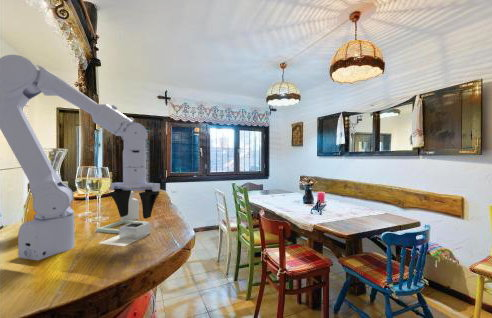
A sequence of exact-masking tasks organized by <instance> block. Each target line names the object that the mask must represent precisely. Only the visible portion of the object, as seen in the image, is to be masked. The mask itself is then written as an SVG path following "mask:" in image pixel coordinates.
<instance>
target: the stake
mask: <svg viewBox="0 0 492 318" xmlns="http://www.w3.org/2000/svg"><path fill="white" fill-rule="evenodd" d="M139 225H140V223H131V227H138V226H139Z"/></svg>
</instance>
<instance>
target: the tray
mask: <svg viewBox="0 0 492 318" xmlns="http://www.w3.org/2000/svg"><path fill="white" fill-rule="evenodd" d="M132 222H145V223H150V222H149V221H143V220H142V221H140V220H121V219H120V220H118V221H116V222H113V223H109V224H107V225H104V226H100V227H97V228H96V232H98V233H106V234H107V233H109V234H117V235H119V229H118V228H114V227H116V226H120V225H123V224H124V225H126V224H129V223H132Z"/></svg>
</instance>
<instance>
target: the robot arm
mask: <svg viewBox="0 0 492 318" xmlns="http://www.w3.org/2000/svg"><path fill="white" fill-rule="evenodd" d="M36 66H37V67H36ZM37 68H38V69H37ZM41 93H42V94H43V95H44V96H47V97H48V96H53V97H55V96H57V97H59V98H61V99H63V100H65V101H67V102H68V103H70V104H72V105H74V106H76V107H77V108H79V109H81V110H82V111H84V112H86V113H87V114H89V115H90V116H91V118H92V122H93V123H94V124H96V125H97V126H99V127H100V128H103V129H105V130H106V131H107V132H110V133H111V134H113V135H115V136H116V137H121V138H120V139H121V140H122V141H123V150H122V182H111V183H110V191H111V192H110V193H109V195H110V197H111V198H112V199H113V201H114V203H115V205H116V208H117V211H118V215H119V217H120V218H121V217H124V216H127V215H128V205H129V197H130V194H131V191H141V192H139V193H138V195H139V198H140V201H141V206H142V218H143V219H149V218H151V216H152V213H153V212H152V211H153V208H154V205H155V202H156V200H157V198H158V196H159V195H160V191H161V183H156V182H155V183H154V182H147V151H146V142H145V141H146V140H147V139H148V136H149V133H148V132H147V129H146V127H145V126H144V125H143V124H141V123H139V122H135V118H133V117H128V116H127V115H125V114H123V113H122V112H121V111H118V107H117V106H115V105H114V104H112V105H110V104H108V103H104V104H99V103H97V102H96V101H94V100H93V99H91V98H90V97H88V96H87V95H86V94H84V93H83V92H81V91H80V90H78V89H77V88H75V87H74V86H72V85H71V84H70V83H68V82H66V81H65V80H64V79H62V78H60V77H59V76H57V75H56V74H55V73H52V72H51V71H49V70H48V69H46V68H45V67H43V66H41V65H39V64H37V65H35V64H34V63H33V62H32V61H31V60H30V59H29V58H26V57H24V56H21V55H17V54H7V55H3V56H2V57H0V131H1V133H2V134H3V137H4V138H5V140H6V142H7V144H8V146H9V147H10V150H11V151H12V153H13V154H14V156H15V158H16V160H17V161H18V164H19V165H20V168H21V169H22V171H23V172H24V174H25V176H26V178H27V180H28V183H29V187H30V191H31V193H32V195H33V209H34V211H35V212H36V213H37V214H36V215H34V219H33V220H31V221H28V220H27V221H25V222H23V223H22V224H21V225H20V226H19V229H18V235H17V239H18V241H17V242H18V243H17V246H18V249H17V250H18V256H17V257H18V258H19V259H26V260H32V261H40V260H43V259H46V258H48V257H52V256H55V255H58V254H60V253H65V252H67V251H70V250H72V249H73V248H74V247H75V210H74V209H72V208H71V206H70V205H72V203H73V201H74V198H75V197H74V196H75V194H74V192H73V190H72V189H71V188H70V187H69V186H68V187H67V186H65V185H64V184H63V182H62V179H61V178H60V176H59V175H58V174H57V172H56V171H55V169H54V167H53V165H52V163H51V161H50V159H49V158H48V156H47V154H46V153H45V152H46V151H45V150H44V148H43V145H41V143H40V140H39V139H38V137H37V134H36V132H35V131H34V130H33V127H32V126H31V124H30V122H29V120H28V118H27V115H26V114H25V112H24V111H23V110H24V109H23V108H25V107H26V105H27V104H28V103H29V101H31V100H33V98H35V97H37V96H38V95H40V94H41Z"/></svg>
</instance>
